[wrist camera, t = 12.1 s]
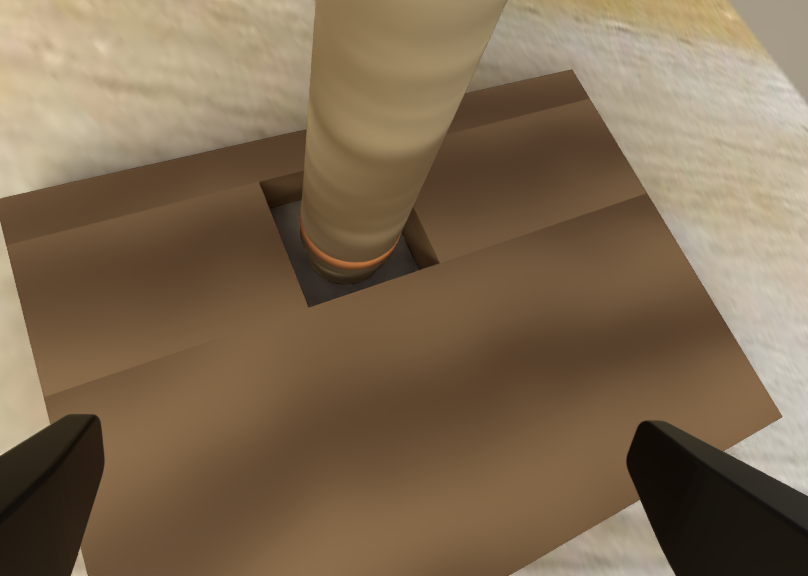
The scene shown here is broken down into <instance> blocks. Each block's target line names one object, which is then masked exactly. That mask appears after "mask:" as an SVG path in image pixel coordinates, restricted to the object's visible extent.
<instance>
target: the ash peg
mask: <svg viewBox="0 0 808 576" xmlns="http://www.w3.org/2000/svg"><path fill="white" fill-rule="evenodd" d="M506 2H507V0H316V6H315V20H314V34H313V48H312V63H311V77H310V91H309V105H308V119H307V134H306V148H305V162H304V176H303V191H302V204H301V211H300V235H301V240H302V243H303V245H304V247H305V249H306V255H307V258H308V261H309V263H310V265H311V266H312V268H313V269H314V270H315V271H316V272H317V273H318V274H319V275H320V276H322V277H323V278H325V279H327V280H329V281H332V282H335V283H339V284H353V283H357V282H360V281H363V280H365V279H367V278H368V277H369V276H371V275H372V274H373V273H374V272H375V271H376V269H377V268H378V267H380V266H381V265H382V264H383V263H384V262H385V261H386V260H387V259H388V258H389V256H390V255H391V253H392V251H393V250H394V248H395V246H396V244H397V242H398V240H399V238H400V235H401V232H402V230H403V227H404V225H405V223H406V221H407V219H408V216H409V214H410V212H411V210H412V208H413V206H414V203H415V201H416V199H417V197H418V195H419V192H420V190H421V188H422V186H423V184H424V181H425V179H426V177H427V175H428V173H429V170H430V168H431V166H432V164H433V162H434V160H435V157H436V155H437V153H438V151H439V149H440V146H441V144H442V142H443V140H444V138H445V135H446V133H447V131H448V129H449V127H450V124H451V122H452V120H453V118H454V116H455V114H456V111H457V109H458V107H459V105H460V103H461V100H462V98H463V96H464V94H465V92H466V89H467V87H468V85H469V83H470V81H471V78H472V76H473V74H474V72H475V70H476V68H477V65H478V63H479V61H480V59H481V57H482V54H483V52H484V50H485V48H486V46H487V43H488V41H489V39H490V37H491V35H492V32H493V30H494V28H495V26H496V24H497V22H498V19H499V17H500V15H501V13H502V11H503V8H504V6H505V4H506Z"/></svg>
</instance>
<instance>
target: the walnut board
mask: <svg viewBox="0 0 808 576" xmlns="http://www.w3.org/2000/svg"><path fill="white" fill-rule="evenodd" d="M306 134H307V129H306V130H301V131H297V132H292V133H288V134H284V135H279V136H275V137H270V138H266V139H261V140H257V141H253V142H248V143H244V144H239V145H235V146H230V147H226V148H222V149H217V150H213V151H208V152H204V153H199V154H195V155H191V156H186V157H182V158H177V159H173V160H168V161H164V162H160V163H155V164H151V165H146V166H142V167H137V168H133V169H129V170H124V171H120V172H115V173H111V174H106V175H102V176H98V177H93V178H89V179H84V180H80V181H75V182H71V183H67V184H62V185H58V186H53V187H49V188H44V189H40V190H36V191H31V192H27V193H22V194H18V195H13V196H9V197H5V198H0V222H1V226H2V230H3V234H4V238H5V242H6V246H7V250H8V254H9V259H10V263H11V267H12V271H13V275H14V279H15V283H16V287H17V291H18V295H19V299H20V303H21V307H22V311H23V315H24V319H25V323H26V327H27V331H28V335H29V339H30V344H31V348H32V352H33V356H34V360H35V364H36V368H37V372H38V376H39V380H40V384H41V388H42V392H43V396H44V400H45V404H46V408H47V412H48V416H49V420H50V424H52V423H54V422H56V421H57V420H59V419H60V418H62V417H64V416H66V415H68V414H95V415H97V416H98V417H99V418H100V421H101V426H102V436H103V445H104V455H105V465H104V471H103V475H102V479H101V482H100V485H99V488H98V491H97V495H96V498H95V501H94V504H93V507H92V511H91V514H90V517H89V520H88V523H87V527H86V530H85V533H84V536H83V539H82V543H81V550H82V554H83V558H84V562H85V566H86V570H87V574H88V576H509V575H511V574H513V573H514V572H516V571H518V570H519V569H521V568H523V567H525V566H526V565H528V564H530V563H532V562H533V561H535V560H537V559H538V558H540V557H542V556H544V555H545V554H547V553H549V552H550V551H552V550H554V549H556V548H557V547H559V546H561V545H563V544H564V543H566V542H568V541H569V540H571V539H573V538H575V537H576V536H578V535H580V534H582V533H583V532H585V531H587V530H588V529H590V528H592V527H594V526H595V525H597V524H599V523H600V522H602V521H604V520H606V519H607V518H609V517H611V516H613V515H614V514H616V513H618V512H619V511H621V510H623V509H625V508H626V507H628V506H630V505H632V504H633V503H635V502H637V501H638V500H640V498H639V496H638V493H637V491H636V489H635V486H634V484H633V482H632V479H631V477H630V475H629V472H628V469H627V465H626V457H627V453H628V450H629V448H630V445H631V442H632V440H633V437H634V434H635V432H636V429H637V427H638V425H639V424H640V423H641V422H642V421H645V420H661V421H666V422H668V423H670V424H672V425H674V426H676V427H677V428H679V429H681V430H683V431H685V432H687V433H689V434H691V435H693V436H695V437H696V438H698V439H700V440H702V441H704V442H706V443H708V444H710V445H712V446H714V447H715V448H717V449H719V450H721V451H725V450H726V449H728V448H730V447H732V446H733V445H735V444H737V443H738V442H740V441H742V440H744V439H745V438H747V437H749V436H751V435H752V434H754V433H756V432H757V431H759V430H761V429H763V428H764V427H766V426H768V425H769V424H771V423H773V422H775V421H776V420H778V419H780V418H782V415H781V413H780V412H779V410H778V409H777V407H776V405H775V404H774V402H773V400H772V399H771V397H770V395H769V394H768V392H767V390H766V389H765V387H764V385H763V384H762V382H761V380H760V379H759V377H758V376H757V374H756V372H755V371H754V369H753V367H752V366H751V364H750V362H749V361H748V359H747V357H746V356H745V354H744V352H743V351H742V349H741V347H740V346H739V344H738V342H737V341H736V339H735V338H734V336H733V334H732V333H731V331H730V329H729V328H728V326H727V324H726V323H725V321H724V319H723V318H722V316H721V314H720V313H719V311H718V309H717V308H716V306H715V305H714V303H713V301H712V300H711V298H710V296H709V295H708V293H707V291H706V290H705V288H704V286H703V285H702V283H701V281H700V280H699V278H698V276H697V275H696V273H695V272H694V270H693V268H692V267H691V265H690V263H689V262H688V260H687V258H686V257H685V255H684V253H683V252H682V250H681V248H680V247H679V245H678V243H677V242H676V240H675V238H674V237H673V235H672V234H671V232H670V230H669V229H668V227H667V225H666V224H665V222H664V220H663V219H662V217H661V215H660V214H659V212H658V210H657V209H656V207H655V205H654V204H653V202H652V201H651V199H650V197H649V196H648V194H647V192H646V191H645V189H644V187H643V186H642V184H641V182H640V181H639V179H638V177H637V176H636V174H635V172H634V171H633V169H632V167H631V166H630V164H629V163H628V161H627V159H626V158H625V156H624V154H623V153H622V151H621V149H620V148H619V146H618V144H617V143H616V141H615V139H614V138H613V136H612V134H611V133H610V131H609V130H608V128H607V126H606V125H605V123H604V121H603V120H602V118H601V116H600V115H599V113H598V111H597V110H596V108H595V106H594V105H593V103H592V101H591V100H590V98H589V96H588V95H587V93H586V92H585V90H584V88H583V87H582V85H581V83H580V82H579V80H578V78H577V77H576V75H575V73H574V72H573V70H572V69H571V70H567V71H563V72H558V73H554V74H549V75H545V76H540V77H536V78H532V79H527V80H523V81H518V82H514V83H509V84H505V85H501V86H496V87H492V88H487V89H483V90H478V91H474V92H470V93H465V94H464V96H463V98H462V100H461V103H460V105H459V107H458V109H457V111H456V114H455V116H454V118H453V120H452V122H451V124H450V127H449V129H448V131H447V133H446V135H445V138H444V140H443V142H442V144H441V146H440V149H439V151H438V153H437V155H436V157H435V160H434V162H433V164H432V166H431V168H430V170H429V173H428V175H427V177H426V179H425V181H424V184H423V186H422V188H421V190H420V192H419V195H418V197H417V199H416V201H415V203H414V206H413V208H412V210H411V212H410V214H409V216H408V219H407V221H406V223H405V225H404V227H403V230H402V233H403V235H404V237H405V240H406V242H407V244H408V246H409V248H410V250H411V253H412V255H413V257H414V259H415V261H416V263H417V266H418V268H419V270H418V271H416V272H413V273H410V274H407V275H404V276H401V277H398V278H395V279H392V280H389V281H386V282H383V283H380V284H377V285H374V286H371V287H368V288H365V289H362V290H359V291H356V292H353V293H351V294H348V295H345V296H342V297H339V298H336V299H333V300H330V301H327V302H324V303H321V304H318V305H315V306H312V307H308V305H307V302H306V300H305V297H304V295H303V292H302V290H301V287H300V285H299V282H298V280H297V277H296V275H295V272H294V270H293V267H292V264H291V262H290V259H289V257H288V254H287V252H286V249H285V247H284V244H283V242H282V239H281V237H280V234H279V232H278V229H277V227H276V224H275V221H274V219H273V216H272V214H271V211H270V209H269V208H271V207H275V206H278V205H282V204H286V203H289V202H293V201H297V200H301V199H302V191H303V176H304V162H305V148H306Z"/></svg>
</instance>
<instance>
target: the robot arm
mask: <svg viewBox="0 0 808 576" xmlns="http://www.w3.org/2000/svg"><path fill="white" fill-rule="evenodd" d="M104 465H105V455H104V445H103V436H102V426H101V421H100V418H99V417H98V416H97V415H95V414H68V415H66V416H64V417H62V418H60V419H59V420H57V421H56V422H54V423H52V424H51V425H49V426H47V427H46V428H44V429H43V430H41V431H39V432H38V433H36V434H35V435H33V436H31V437H30V438H28V439H27V440H25V441H23V442H22V443H20V444H18V445H17V446H15V447H14V448H12V449H10V450H9V451H7V452H6V453H4V454H2V455H1V456H0V576H71V573H72V570H73V567H74V564H75V562H76V559H77V555H78V552H79V549H80V546H81V543H82V539H83V536H84V533H85V530H86V527H87V523H88V520H89V517H90V514H91V511H92V507H93V504H94V501H95V498H96V495H97V491H98V488H99V485H100V482H101V479H102V475H103V471H104ZM626 465H627V469H628V472H629V475H630V477H631V479H632V482H633V484H634V486H635V489H636V491H637V493H638V496H639V498H640V500H641V503H642V505H643V507H644V510H645V512H646V514H647V517H648V519H649V521H650V524H651V526H652V528H653V531H654V533H655V535H656V538H657V540H658V542H659V544H660V546H661V549H662V551H663V553H664V554H665V556H666V558H667V560H668V562H669V564H670V566H671V568H672V570H673V572H674V573H675V575H676V576H808V496H807V495H805V494H803V493H801V492H799V491H797V490H795V489H793V488H791V487H790V486H788V485H786V484H784V483H782V482H780V481H778V480H776V479H774V478H772V477H771V476H769V475H767V474H765V473H763V472H761V471H759V470H757V469H755V468H753V467H752V466H750V465H748V464H746V463H744V462H742V461H740V460H738V459H736V458H734V457H733V456H731V455H729V454H727V453H725V452H723V451H721V450H719V449H717V448H715V447H714V446H712V445H710V444H708V443H706V442H704V441H702V440H700V439H698V438H696V437H695V436H693V435H691V434H689V433H687V432H685V431H683V430H681V429H679V428H677V427H676V426H674V425H672V424H670V423H668V422H666V421H661V420H645V421H642V422H641V423H640V424H639V425H638V427H637V429H636V432H635V434H634V437H633V440H632V442H631V445H630V448H629V450H628V453H627V457H626Z"/></svg>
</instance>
